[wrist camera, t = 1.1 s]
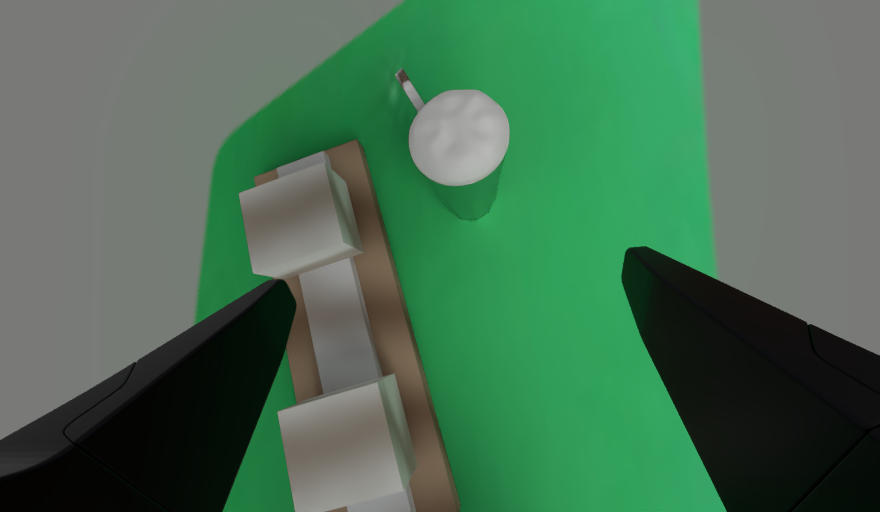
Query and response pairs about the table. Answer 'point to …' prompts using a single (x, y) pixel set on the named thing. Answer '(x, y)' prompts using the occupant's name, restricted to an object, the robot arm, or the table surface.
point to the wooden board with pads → (346, 343)
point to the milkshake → (459, 146)
